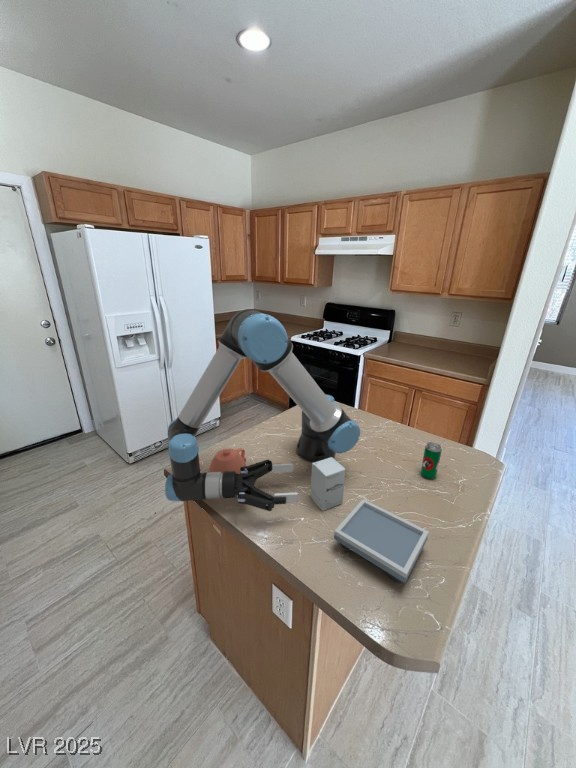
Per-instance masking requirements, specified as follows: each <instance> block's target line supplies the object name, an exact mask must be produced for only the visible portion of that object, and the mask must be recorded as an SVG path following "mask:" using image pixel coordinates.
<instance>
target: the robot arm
mask: <svg viewBox="0 0 576 768" xmlns="http://www.w3.org/2000/svg"><path fill="white" fill-rule="evenodd" d="M293 349H294V345H293V342H292V341H291V340H290V339H289V337H288V333H287V331H286V329H285V326H284V325H283V324H282V323H281V321H279V320H278V319H277V318H276V317H274V316H272V315H270V314H268V313H267V314H266V313H263V312H261V311H259V310H256V309H252V308H246V309H243V310H240V311H238V312H237V313H236V314H234V315H233V317H231V319H230V320H229V322H228V323H227V325H226V327H225V329H224V331H223V332H222V335H221V336H220V338H219V339H218V348H217V350H216V352H215V353H214V355H213V356H212V358H211V360H210V362H209V364H208V365H207V367H206V368H205V370H204V372H203V373H202V375H201V377H200V378H199V380H198V382H197V384H196V386H195V387H194V389H193V390H192V393H191V394H190V396H189V397H188V399H187V401H186V403H185V404H184V406H183V408H182V409H181V411H180V413H179V415H178V416H177V418H175V419H173V420H172V421H171V422H170V423H169V425H168V427H167V438H168V456H169V462H170V468H171V474H168V475H167V477H166V480H165V483H164V490H165V491H164V494H165V497H166V499H167V501H170V502H188V501H200V500H201V501H203V500H206V501H207V500H217V499H218V500H221V499H222V498H223V499H228V500H229V499H235V498H237V504H238V505H247V506H252V507H254V508H257V509H261V510H265V511H268V512H271V511H273V509H274V508H275V505H286V504H288V503H289V504H290V503H299V492H298V491H297V492H281V493H274V494H273V495H272V494H269V493H267V492H266V491H263V490H262V489H259V488H258V487H256V484H255V483H256V481H257V480H258V479H260V478H262V477H263V476H265V475H267V474H268V473H271V472H272V474H278V473H279V474H280V473H282V474H283V473H293V472H294V463H273V461H272V460H270V459H265V460H262V461H260V462H255V463H253V464H250V465H246V466H245V467H241V468H240V473H241V474H236V472H235V471H226V472H224V473H223V474H222V473H221V472H209V471H207V472H201V467H200V466H201V465H200V456H199V444H198V441H197V438H196V436H197V433H199V431H200V429H201V427H202V425H203V424H204V422H205V420H206V418H207V416H208V415H209V413H210V412H211V410H212V408H213V407H214V405H215V404H216V402H217V400H218V399H219V397H220V395H221V394H222V393H223V390H224V389H225V387H226V386H227V384H228V382H229V380H230V378H231V377H232V375H233V374H234V372H235V371H236V369H237V368H238V366H239V364H240V362H241V361H242V360H244V359H247V358H249V360H250V361H251V362H252V363H253V364H254V365H255V366H256V368H257V369H258V370H259V371H261V372H268V373H269V374H270V375H271V376H272V377H273V379H274V380H275V382H277V384H278V385H279V386H280V387H281V389H283V390H284V392H286V394H287V395H288V396H289V398H291V399H292V400H293V402H294V403H295V404H296V405H297V406H298V407H299V409H300V410H301V434H300V436H299V439H298V441H297V444H296V453H297V454H296V455H298V456H299V458H301V459H302V460H304V461H306V462H309V463H314V462H318V461H321V460H324V459H327V458H330V457H332V458H333V459H335V458H334V457H335V456H336V454H344V453H347V452H349V451H350V450H352V449H353V448H354V447H355V446H356V445H357V443H358V442H359V440H360V437H361V428H360V425H359V424H358V423H357V422H356V421H354V420H353V419H351V418H350V416H348V414H347V413H346V412H345V411H344V408H342V406H341V405H340V404H339V403H337V402H336V401H335V398H334V396H332V395H330V394H326V393H325V392H324V391H323V390H322V389H321V388H320V386H319V385H318V384H317V382H316V381H315V379H314V378H313V377H312V376H311V375H310V373H309V372H308V371H307V369H306V368H305V366H304V365H303V364H302V363H301V362H300V361H299V358H297V356H296V355H295V354H294V353H293Z"/></svg>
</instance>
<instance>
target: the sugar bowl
mask: <svg viewBox="0 0 576 768" xmlns="http://www.w3.org/2000/svg"><path fill="white" fill-rule="evenodd" d="M240 452H241V453H240ZM245 453H246V452H245V449H244V448H242V447H239V448H236V449H233V448H224V449H221V450H218V451H217V452H216V454H214V456H213V458H212V460H211V462H210V465H209V469H208V470H209V471H208V472H221V473H222V474H223V473H224V472H226V471H235V472H236V474H241V473H240V468H241V467H245V466H247V465H246V462H247V458H246V457H245Z"/></svg>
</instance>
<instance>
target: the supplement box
mask: <svg viewBox="0 0 576 768" xmlns="http://www.w3.org/2000/svg"><path fill="white" fill-rule="evenodd" d="M310 476H311V478H310V479H311V480H310V496H309V497H310V498H311V499H312V500H313V501H314V503H315V504H316V505H317V506H318V508H320V510H321V511H322V512H324V511H327V510H329V509H332V508H333V507H336V506H338V505H341V504H343V502H344V493H345V492H344V491H345V480H346V468H345V467H344V466H343V465H342V464H340V463H339V462H338V461H337V460H336V459H335V458H332V457H330V458H327V459H324V460H321V461H318V462H311V475H310Z"/></svg>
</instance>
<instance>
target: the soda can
mask: <svg viewBox="0 0 576 768" xmlns="http://www.w3.org/2000/svg"><path fill="white" fill-rule="evenodd" d="M442 452H443V451H442V446H441V444H439V443H438V442H434V441H429V442H427V443H426V444H425V447H424V451H423V457H422V463H421V466H420V467H421V468H420V472H419V473H420V475H421V477H423V478H424V479H427V480H434V479H436V477H437V475H438V469H439V466H440V461H441V456H442V455H441V454H442Z"/></svg>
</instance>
